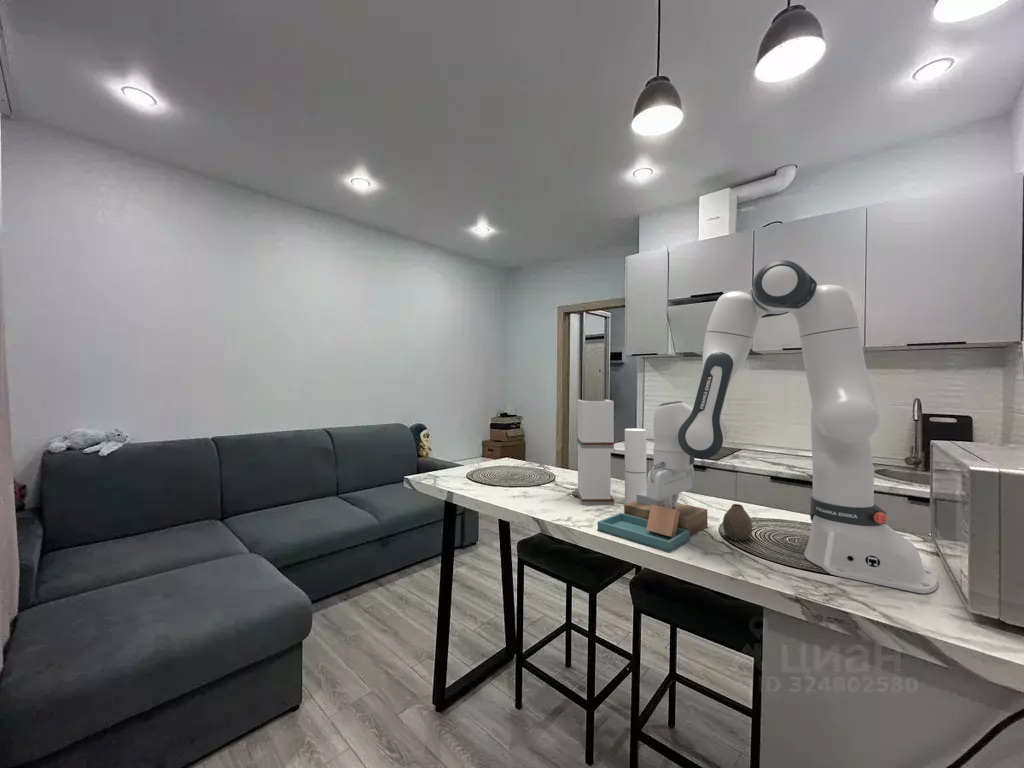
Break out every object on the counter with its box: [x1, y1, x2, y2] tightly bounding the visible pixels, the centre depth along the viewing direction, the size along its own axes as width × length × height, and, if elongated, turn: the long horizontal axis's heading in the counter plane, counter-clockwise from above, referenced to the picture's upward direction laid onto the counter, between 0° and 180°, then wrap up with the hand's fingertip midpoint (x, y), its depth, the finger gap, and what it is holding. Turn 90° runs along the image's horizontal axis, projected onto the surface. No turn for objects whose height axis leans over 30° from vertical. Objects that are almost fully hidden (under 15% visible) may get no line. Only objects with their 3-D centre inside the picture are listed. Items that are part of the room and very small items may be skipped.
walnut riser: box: [623, 500, 708, 538], centre depth 123 cm, size 19×13×5 cm
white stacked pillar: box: [576, 399, 615, 506], centre depth 147 cm, size 11×11×35 cm
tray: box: [597, 512, 691, 553], centre depth 114 cm, size 21×12×2 cm, turn 43°
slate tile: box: [637, 491, 665, 506], centre depth 127 cm, size 7×7×2 cm
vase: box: [722, 503, 753, 541], centre depth 112 cm, size 7×7×9 cm
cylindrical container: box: [624, 427, 647, 504], centre depth 145 cm, size 7×7×25 cm
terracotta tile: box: [646, 504, 680, 538], centre depth 113 cm, size 7×7×2 cm
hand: (670, 510), depth 116 cm, fingers closed
